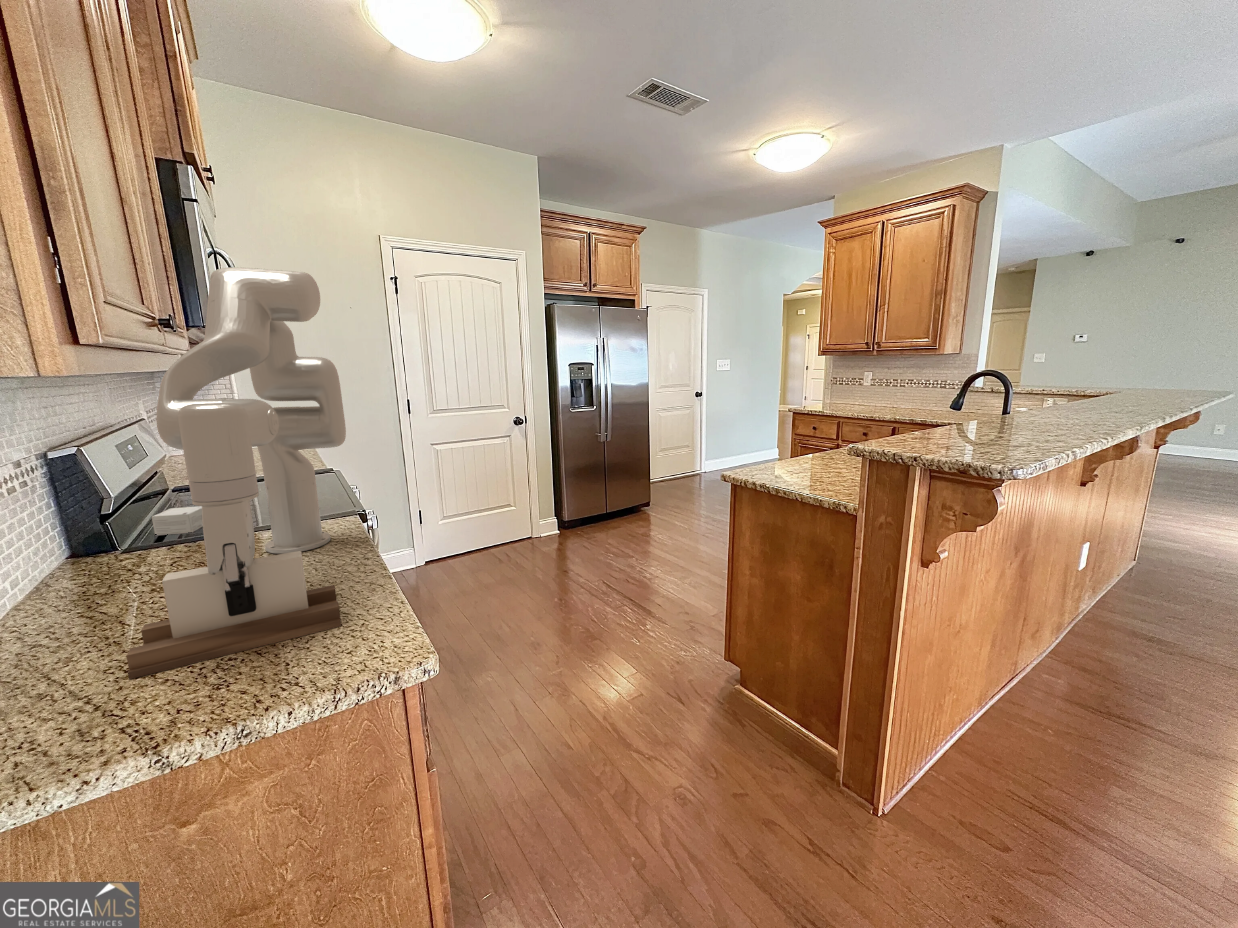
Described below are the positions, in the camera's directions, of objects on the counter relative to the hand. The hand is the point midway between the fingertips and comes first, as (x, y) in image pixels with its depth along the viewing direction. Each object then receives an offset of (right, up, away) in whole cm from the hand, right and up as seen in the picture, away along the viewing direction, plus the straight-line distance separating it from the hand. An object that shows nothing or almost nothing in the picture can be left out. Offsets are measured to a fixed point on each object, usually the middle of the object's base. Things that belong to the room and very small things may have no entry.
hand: (243, 607), depth 73 cm
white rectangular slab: (0, -2, 0) cm, 2 cm away
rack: (0, -4, +1) cm, 4 cm away
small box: (-55, +5, +50) cm, 75 cm away
